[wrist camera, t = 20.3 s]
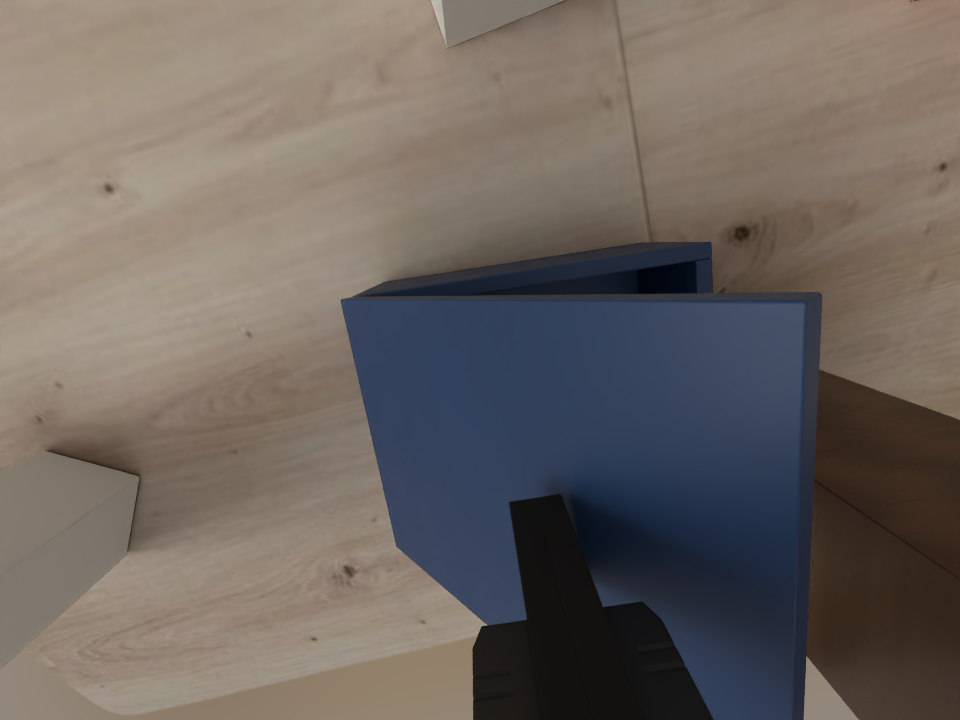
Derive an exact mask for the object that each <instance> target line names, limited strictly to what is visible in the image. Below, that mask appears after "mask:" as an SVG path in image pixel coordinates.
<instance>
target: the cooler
mask: <svg viewBox="0 0 960 720" xmlns="http://www.w3.org/2000/svg"><path fill="white" fill-rule="evenodd" d="M711 257H712V251H711V242H656V243H636V244H630V245H623V246H617V247H610V248H603V249H597V250H590V251H584V252H577V253H571V254H564V255H558V256H551V257H545V258H538V259H532V260H525V261H518V262H512V263H505V264H499V265H492V266H486V267H479V268H473V269H466V270H460V271H453V272H447V273H440V274H433V275H427V276H420V277H414V278H407V279H401V280H394V281H388V282H383V283H381V284H379V285H377V286H375V287H373V288H370V289H368V290H366V291H364V292H362V293H359V294H357V295H355V296H353V297H377V296H481V295H586V294H690V293H713V284H712V259H710V258H711Z"/></svg>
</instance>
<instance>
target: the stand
mask: <svg viewBox="0 0 960 720" xmlns="http://www.w3.org/2000/svg"><path fill="white" fill-rule="evenodd" d="M806 656H807V657H808V658H809V659H810V661H811V662H812V663H813V664H814V666H815V667H816V668H817V669H818V670H819V672H820V673H821V674H822V675H823V677H824V678H825V679H826V680H827V681H828V683H830V685H831V686H832V687H833V688H834V690H835V691H836V692H837V694H838V695H839V696H840V697H841V698H842V700H843V701H844V702H845V703H846V704H847V706H848V707H849V708H850V709H851V710H852V712H853V713H854V714H855V715H856V717H857V718H858V719H859V720H960V420H958V419H956V418H953V417H950V416H947V415H944V414H942V413H939V412H936V411H933V410H930V409H928V408H925V407H922V406H919V405H917V404H914V403H911V402H908V401H905V400H903V399H900V398H897V397H894V396H891V395H889V394H886V393H883V392H880V391H877V390H875V389H872V388H869V387H866V386H863V385H861V384H858V383H855V382H852V381H849V380H847V379H844V378H841V377H838V376H836V375H833V374H830V373H827V372H824V371H822V370H819V380H818V402H817V425H816V447H815V470H814V493H813V515H812V538H811V560H810V583H809V605H808V628H807V650H806Z"/></svg>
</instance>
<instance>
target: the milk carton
mask: <svg viewBox="0 0 960 720" xmlns="http://www.w3.org/2000/svg"><path fill="white" fill-rule="evenodd" d="M138 483H139V477H138V476H136V475H132V474H129V473H125V472H121V471H118V470H114V469H110V468H107V467H103V466H99V465H95V464H92V463H88V462H84V461H81V460H77V459H73V458H69V457H66V456H62V455H58V454H55V453H51V452H47V451H38V452H36V453H34V454H32V455H29V456H27V457H25V458H23V459H21V460H19V461H17V462H15V463H13V464H11V465H9V466H7V467H5V468H2V469H0V670H1V669H2V668H3V667H4V666H5V665H6V664H7V663H8V662H9V661H11V660H12V659H13V658H14V657H15V656H16V655H17V654H18V653H19V652H21V651H22V650H23V649H24V648H25V647H26V646H27V645H28V644H29V643H30V642H32V641H33V640H34V639H35V638H36V637H37V636H38V635H39V634H40V633H42V632H43V631H44V630H45V629H46V628H47V627H48V626H49V625H50V624H51V623H53V622H54V621H55V620H56V619H57V618H58V617H59V616H60V615H61V614H62V613H64V612H65V611H66V610H67V609H68V608H69V607H70V606H71V605H72V604H73V603H75V602H76V601H77V600H78V599H79V598H80V597H81V596H82V595H83V594H84V593H86V592H87V591H88V590H89V589H90V588H91V587H92V586H93V585H94V584H95V583H97V582H98V581H99V580H100V579H101V578H102V577H103V576H104V575H105V574H106V573H108V572H109V571H110V570H111V569H112V568H113V567H114V566H115V565H116V564H117V563H119V562H120V561H121V560H122V559H123V558H124V557H125V556H126V555H127V549H128V543H129V537H130V531H131V525H132V519H133V513H134V507H135V501H136V495H137V489H138Z"/></svg>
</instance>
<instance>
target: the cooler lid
mask: <svg viewBox="0 0 960 720" xmlns="http://www.w3.org/2000/svg"><path fill="white" fill-rule="evenodd" d="M341 304H342V309H343V313H344V318H345V322H346V326H347V331H348V335H349V340H350V344H351V348H352V353H353V357H354V362H355V366H356V370H357V375H358V379H359V384H360V388H361V392H362V397H363V401H364V406H365V410H366V414H367V419H368V423H369V428H370V432H371V436H372V441H373V445H374V450H375V454H376V458H377V463H378V467H379V472H380V476H381V480H382V485H383V489H384V494H385V498H386V503H387V507H388V511H389V516H390V520H391V525H392V529H393V533H394V538H395V542H396V546H397V547H398V548H399V549H400V550H401V551H402V552H403V553H405V554H406V555H407V556H408V557H409V558H410V559H411V560H413V561H414V562H415V563H416V564H417V565H418V566H420V567H421V568H422V569H423V570H424V571H425V572H427V573H428V574H429V575H430V576H431V577H432V578H433V579H435V580H436V581H437V582H438V583H439V584H440V585H442V586H443V587H444V588H445V589H446V590H447V591H449V592H450V593H451V594H452V595H453V596H454V597H456V598H457V599H458V600H459V601H460V602H461V603H462V604H464V605H465V606H466V607H467V608H468V609H469V610H471V611H472V612H473V613H474V614H475V615H476V616H478V617H479V618H480V619H481V620H482V621H483V622H484V623H486V624H487V625H495V624H502V623H508V622H515V621H522V620H527V618H526V611H525V605H524V598H523V592H522V586H521V579H520V573H519V566H518V560H517V553H516V547H515V540H514V534H513V527H512V521H511V514H510V508H509V502H510V501H517V500H524V499H530V498H537V497H544V496H550V495H557V494H561V495H562V498H563V501H564V503H565V506H566V509H567V511H568V514H569V517H570V519H571V522H572V525H573V528H574V530H575V533H576V536H577V538H578V541H579V544H580V546H581V549H582V552H583V554H584V557H585V560H586V562H587V565H588V568H589V571H590V573H591V576H592V579H593V581H594V584H595V587H596V589H597V592H598V595H599V597H600V600H601V603H602V606H603V607H607V606H614V605H621V604H628V603H634V602H641V601H643V602H644V603H645V604H646V605H647V606H648V607H649V608H650V609H651V610H652V611H653V612H654V613H656V614H657V615H658V616H659V617H660V618H661V619H662V620H663V622H664V624H665V626H666V628H667V630H668V632H669V634H670V636H671V638H672V640H673V642H674V645H675V647H676V648H677V650H678V651H679V653H680V655H681V657H682V659H683V661H684V664H685V667H686V668H687V669H688V671H689V673H690V675H691V677H692V679H693V681H694V682H695V684H696V686H697V688H698V690H699V692H700V694H701V696H702V698H703V700H704V702H705V704H706V706H707V708H708V710H709V712H710V713H711V715H712V717H713V719H714V720H803V717H804V695H805V673H806V650H807V628H808V605H809V583H810V560H811V538H812V515H813V493H814V470H815V447H816V425H817V402H818V380H819V357H820V335H821V312H822V294H821V293H819V292H795V293H690V294H586V295H481V296H377V297H351V298H346V299H342V300H341Z"/></svg>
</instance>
